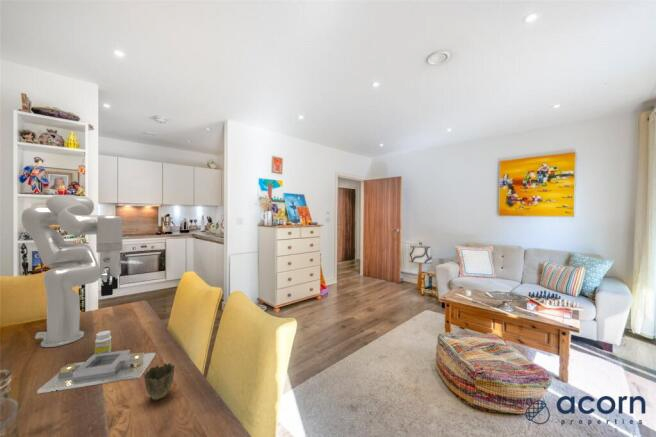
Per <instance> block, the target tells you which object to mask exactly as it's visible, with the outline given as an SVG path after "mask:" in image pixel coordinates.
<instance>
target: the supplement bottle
mask: <svg viewBox="0 0 656 437" xmlns="http://www.w3.org/2000/svg"><path fill="white" fill-rule="evenodd" d="M95 338H96V339H95V340H94V354H100V353H108V352H113V351H112V350H113V349H112V348H113V347H112V344H113V342H112V339H113V338H112V336H111V331H110V330H103V331H99V332H98V333H96V337H95Z"/></svg>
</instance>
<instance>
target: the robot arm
mask: <svg viewBox="0 0 656 437" xmlns="http://www.w3.org/2000/svg"><path fill="white" fill-rule="evenodd" d="M94 210H95V203H94V202H93V200H92V199H91V198H89V197H88V196H81V195H80V196H79V195H67V194H58V195H57V194H56V195H53V196H51V197H49V198H48V199H46V202H45V205H39V206H30V207H27V208H25V209H24V210H23V211H22V213H21V218H20V219H21V225H22V226H23V229H24V230H25V232H26V234H27V235H28V236H29V237H30V238H31V240H33V242H34V243H35V247H36V250H37V252H38V255H39V258H40V260H41V262H42V264H43V265H44V266H46V267H50V269H48V270H47V271H46V272H45V273H44V274H43V284H44V288H45V292H46V331H40V332H39V331H38V332H36V334H35V336H34V339H35V340H38V339H39V340H40V339H42V340H41V342H40V346H41V347H43V348H54V347H60V346H61V347H62V346H65V345H68V344H71V343H74V342H76V341H79V340H80V339H82V338H83V337H84V336H85V331H83V330H80V312H81V311H80V309H81V308H80V307H81V306H80V302H81V301H80V294H79V293H78V292H77V291H75V290H74V289H73V288H74V287H78V286H83V285H84V286H85V285H88V284H93V283H96V282H98V281H99V279H101V282H100V283H101V284H100V296H101V297H106V296H107V297H108V296H112V295H113V294H114V293H113V292H114V290H117V289H119V278H118V277H119V276H120V275H121V274H122V267H121V266H122V265H121V264H122V262H121V252H122V251H123V218H122V217H121V216H119V215H100V214H99V215H97V214H96V215H95V214H94V215H93V214H92V213H93V212H94ZM91 214H92V215H91ZM50 226H59V228H60V229H61V230H63V232H66V233H67V234H70V235H74V236H87V235H88V236H90V235H96V243H95V245H96V249H95V250H96V253H97V254H98V253H99V263H98V261H97V259H96V256H95V254H94V251H93V249H92V248H91V246H90V245H89V244H87V243H83V242H76V243H74V242H73V243H67V242H66V241H65V239H64V236H63V235H62V234H61V233H60V232H59V231H57V229H55V228H52V227H50ZM51 267H52V268H51Z"/></svg>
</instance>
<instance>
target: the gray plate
mask: <svg viewBox="0 0 656 437" xmlns="http://www.w3.org/2000/svg"><path fill="white" fill-rule="evenodd" d="M155 356H156V352H148V353H145V352H144V351H143V352H136V353H131V349H126V350H125V349H124V350H117V351H112V352H108V353H100V354H95V353H94V354H92V355H91V356H90V357H89V358H88V359H87V360H85V361H82V362H81V361H80V362H73V363H68V364H65V365H63V366H62V367H60V371H59V372H58V373H57V374H55V375H54V376H53V377H52V378H50V380H48V381H46V383H45V384H43V385H42V386H41V387H40V388H38V389H37V393H36V394H37V395H38V394H46V393H50V392H51V391H52V392H57V391H56V390H58V391H64V390H69V389H70V390H71V389H77V388H83V387H89V386H96V385H101V384H107V383H114V382H121V381H126V380H128V381H129V380H132V379H133V380H134V379H140V378H142V376H143V375H144V374H145V372H146V371H147V370H146V369H147V368H148V367H149V366H150V364H151V363H152V361H153V359H154V358H155Z"/></svg>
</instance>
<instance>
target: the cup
mask: <svg viewBox="0 0 656 437" xmlns="http://www.w3.org/2000/svg"><path fill="white" fill-rule="evenodd" d="M145 372H146V373H143V375H144V376H143V377H144V384H145V390H146V393H147V394H148V395H149V396H150V397H151V399H152V400H153V401H159V400H162V399H164V398H165V397H166V396H167V394H168V391H169V390H170V388H171V386H172V385H173V380H174V374H175V365H174V364H172V363H171V362H170V363H168V364H167V363H166V362H165V363H164V364H163V365H161V366H159V365H158V364H156V366H155V367H154V366H151V367H150V369H149V370H145Z"/></svg>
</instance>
